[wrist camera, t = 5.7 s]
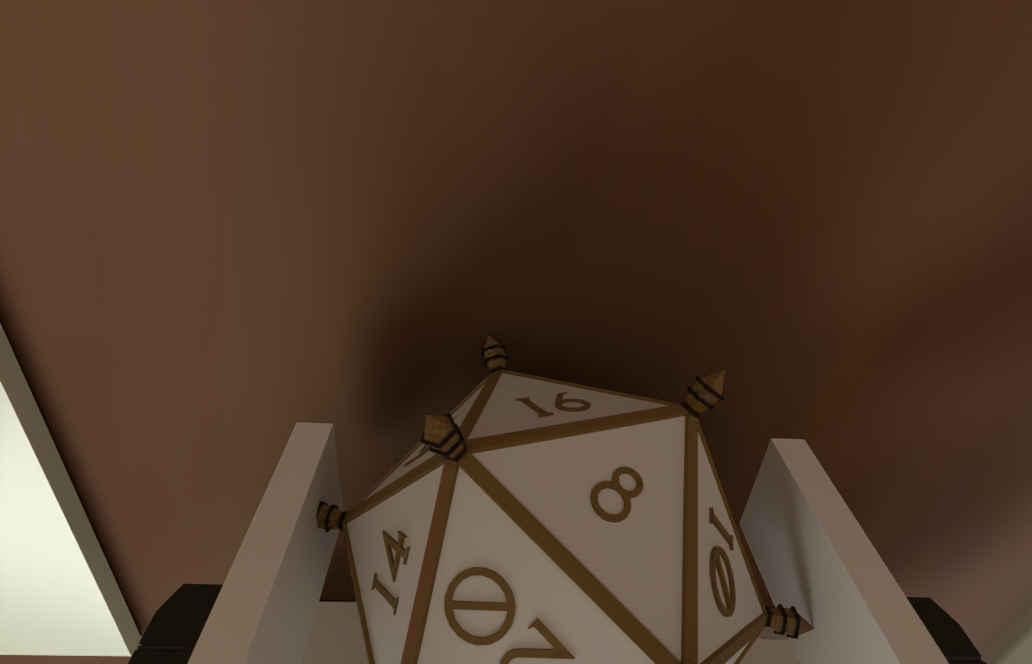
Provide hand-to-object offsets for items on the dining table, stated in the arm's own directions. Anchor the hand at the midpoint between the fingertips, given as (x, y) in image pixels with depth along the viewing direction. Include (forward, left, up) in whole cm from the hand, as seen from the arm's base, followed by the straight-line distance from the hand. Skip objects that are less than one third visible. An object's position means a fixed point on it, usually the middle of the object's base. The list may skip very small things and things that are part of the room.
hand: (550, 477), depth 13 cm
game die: (0, 0, -2) cm, 2 cm away
